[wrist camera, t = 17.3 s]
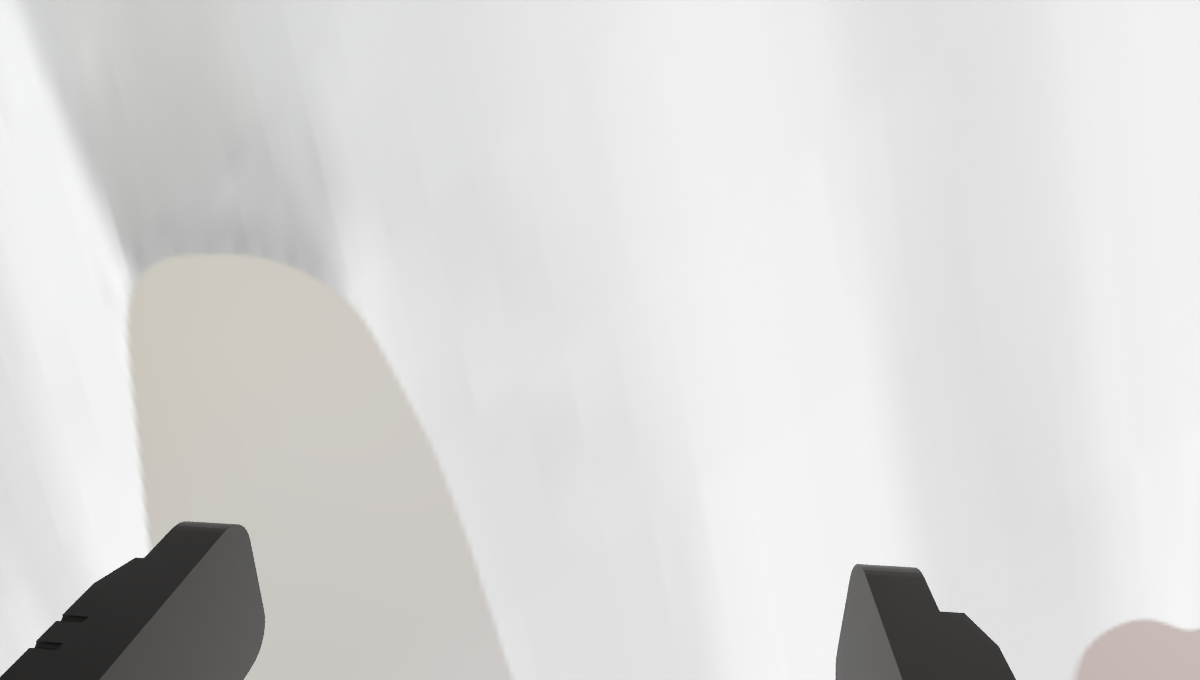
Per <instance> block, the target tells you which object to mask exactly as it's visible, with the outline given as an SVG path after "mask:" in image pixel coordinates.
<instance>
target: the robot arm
mask: <svg viewBox="0 0 1200 680" xmlns="http://www.w3.org/2000/svg"><path fill="white" fill-rule="evenodd" d="M264 628H265V615H264V608H263V603H262V598H261V593H260V588H259V583H258V578H257V573H256V568H255V563H254V558H253V552H252V547H251V542H250V538H249V535H248V533H247V531H246V529H245V528H244V527H243V526H241V525H237V524H221V523H204V522H182V523H179V524H177V525H176V526H175V527H174V528H172V530H170V532H169V533H168V534H167V535H166V536H165V537H164V538H163V539H162V540H161V541H160V542H159V543H158V544H157V545H156V546H155V547H154V548H153V549H152V550H151V551H150V553H149V554H148V555H147V556H146V557H145V558H134V559H133V560H131V561H129V562H128V563H126V564H125V565H123V566H121V567H120V568H118V569H116V570H115V571H113V572H112V573H110V574H108V575H107V576H105V577H104V578H102V579H100V580H99V581H97V582H95V583H94V584H93V585H92V586H91V587H90V588H89V589H88V590H87V591H86V592H85V593H84V594H83V595H82V596H81V597H80V598H79V599H78V600H77V601H76V602H75V603H74V604H73V605H72V606H71V607H70V608H69V609H68V610H67V611H66V612H65V613H64V614H63V618H62V620H61V621H56V622H55V623H54V624H53V625H52V626H51V627H50V628H49V629H48V630H47V631H46V632H45V633H44V634H43V635H42V636H41V637H40V638H39V639H38V640H37V641H36V646H35V648H29V649H28V650H27V651H26V652H25V653H24V654H23V655H22V656H21V657H20V658H19V659H18V660H17V661H16V662H15V663H14V664H13V665H12V666H11V667H10V668H9V669H8V670H7V671H6V672H5V673H4V674H3V675H2V676H1V677H0V680H243V679H244V678H245V676H246V675H247V673H248V672H249V670H250V668H251V667H252V665H253V664H254V662H255V660H256V658H257V655H258V653H259V650H260V647H261V644H262V640H263V635H264ZM836 680H1016V679H1015V677H1014V675H1013V673H1012V671H1011V669H1010V667H1009V666H1008V664H1007V662H1006V660H1005V658H1004V656H1003V654H1002V652H1001V650H1000V648H999V646H998V645H997V644H996V643H994V642H993V641H992V640H991V639H990V638H989V637H988V636H987V635H986V634H985V633H984V632H983V631H982V630H981V629H980V628H979V627H978V626H977V625H976V624H975V623H974V622H973V621H972V620H971V619H970V618H969V617H968V616H967V615H966V614H965V613H953V612H940V611H939V609H938V607H937V605H936V603H935V600H934V598H933V596H932V594H931V592H930V589H929V587H928V585H927V583H926V581H925V578H924V576H923V575H922V573H921V572H920V570H919V569H917V568H912V567H896V566H879V565H863V564H857V565H855V566H854V568H853V570H852V573H851V576H850V582H849V587H848V593H847V599H846V604H845V610H844V616H843V622H842V627H841V633H840V639H839V644H838V650H837V657H836Z"/></svg>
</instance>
